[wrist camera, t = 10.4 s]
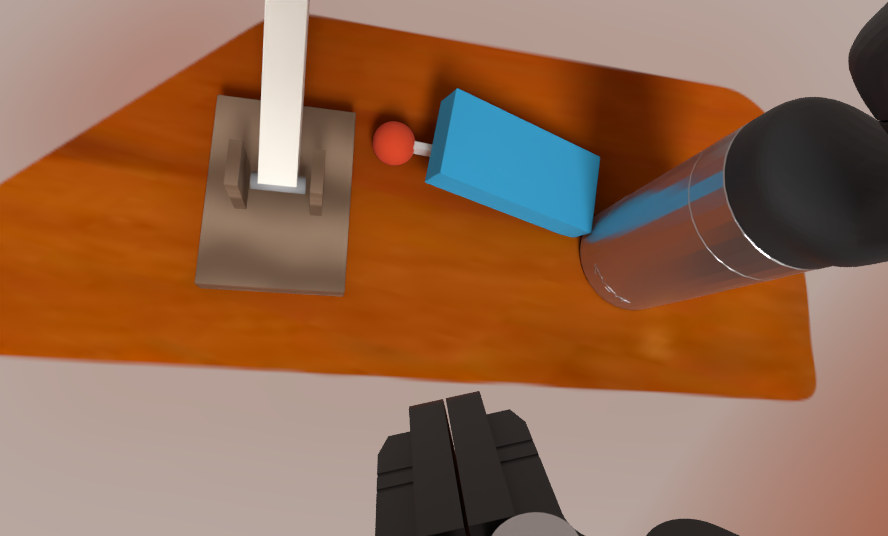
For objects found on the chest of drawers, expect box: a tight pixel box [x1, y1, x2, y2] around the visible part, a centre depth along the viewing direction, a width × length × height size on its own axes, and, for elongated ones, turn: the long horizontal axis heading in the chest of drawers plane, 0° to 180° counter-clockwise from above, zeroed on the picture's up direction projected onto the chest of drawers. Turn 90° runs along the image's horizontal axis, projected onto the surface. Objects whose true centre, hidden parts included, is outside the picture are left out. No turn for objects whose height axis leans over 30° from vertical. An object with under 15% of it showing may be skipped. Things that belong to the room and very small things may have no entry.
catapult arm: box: [250, 0, 310, 194], centre depth 37 cm, size 4×4×14 cm
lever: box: [372, 88, 600, 237], centre depth 45 cm, size 7×7×18 cm
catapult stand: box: [195, 95, 356, 296], centre depth 39 cm, size 14×10×7 cm
